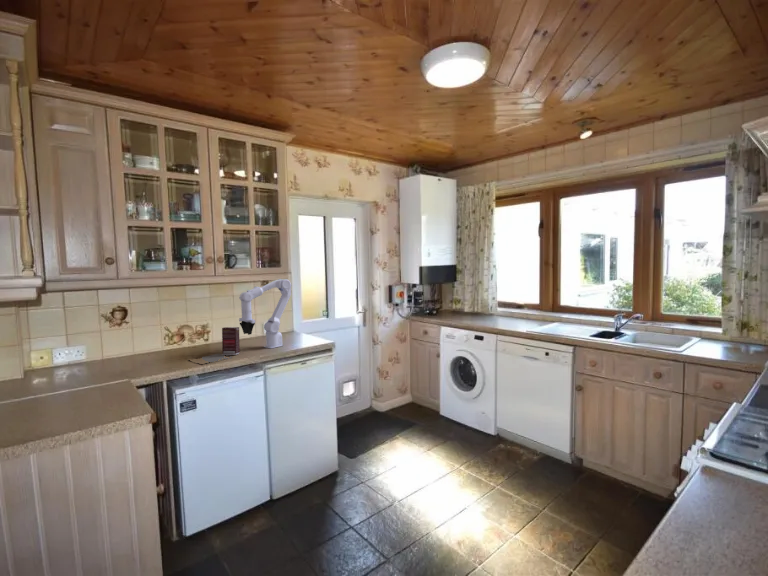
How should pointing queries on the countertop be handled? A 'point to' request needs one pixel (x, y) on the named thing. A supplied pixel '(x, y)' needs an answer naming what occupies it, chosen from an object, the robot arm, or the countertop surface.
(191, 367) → the countertop surface
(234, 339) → the supplement box
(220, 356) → the mat
